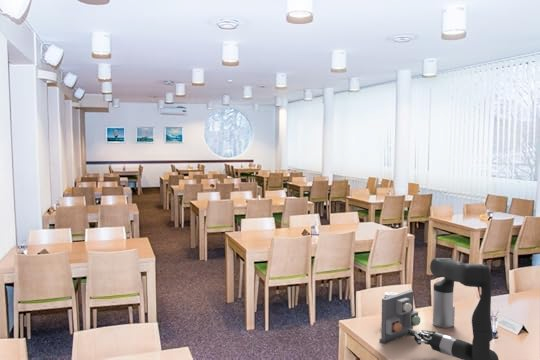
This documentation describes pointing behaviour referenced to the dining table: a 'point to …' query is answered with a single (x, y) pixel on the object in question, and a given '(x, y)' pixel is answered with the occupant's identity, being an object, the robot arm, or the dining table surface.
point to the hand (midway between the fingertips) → (409, 331)
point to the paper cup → (389, 294)
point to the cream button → (406, 307)
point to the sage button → (415, 320)
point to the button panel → (396, 316)
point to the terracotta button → (397, 327)
